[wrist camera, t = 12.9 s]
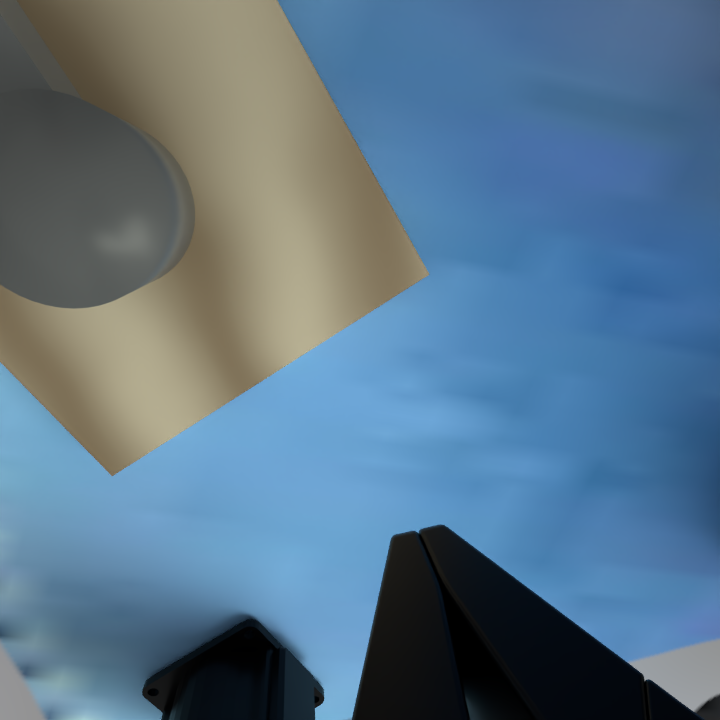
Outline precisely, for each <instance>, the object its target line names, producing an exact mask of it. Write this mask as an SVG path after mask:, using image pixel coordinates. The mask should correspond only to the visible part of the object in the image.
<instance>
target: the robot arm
mask: <svg viewBox="0 0 720 720" xmlns="http://www.w3.org/2000/svg"><path fill="white" fill-rule="evenodd" d="M248 631H252V632H248ZM142 694H143V696H144V697H145V698H146V699H147V700H148V701H150V702H151V703H152V704H153V705H154V706H156V707H157V708H158V709H159V710H160V711H162V712H163V715H162V718H161V720H315V708H316V707H318V706H319V705H321V704H322V703H323V701H324V689H323V688H322V687H321V686H320V684H319V683H318V682H317V681H316V680H315V679H314V677H313V675H312V674H311V673H310V672H309V671H308V670H307V669H306V668H305V667H304V666H303V665H302V664H301V663H300V662H299V661H298V660H297V659H296V658H295V657H294V656H293V655H292V654H291V653H290V652H289V651H288V650H287V649H286V648H284V647H283V646H282V645H281V644H280V643H279V642H278V641H277V640H276V639H275V638H274V637H273V636H272V635H271V634H270V633H269V632H268V631H267V630H266V629H265V628H264V627H263V626H262V625H261V624H260V623H259V622H258V621H256V620H253V619H250V620H246V621H243V622H242V623H240V624H238V625H237V626H235V627H233V628H232V629H230V630H228V631H227V632H225V633H223V634H222V635H220V636H218V637H217V638H215V639H213V640H212V641H210V642H208V643H207V644H205V645H203V646H202V647H200V648H198V649H197V650H195V651H193V652H192V653H190V654H188V655H187V656H185V657H183V658H182V659H180V660H178V661H177V662H175V663H174V664H172V665H170V666H169V667H167V668H165V669H164V670H162V671H160V672H159V673H157V674H155V675H154V676H152V677H150V678H149V679H147V680H146V682H145V685H144V688H143V691H142ZM352 720H704V719H703V718H701V717H700V716H699V715H697V714H696V713H695V712H693V711H692V710H690V709H689V708H688V707H686V706H685V705H683V704H682V703H681V702H679V701H678V700H677V699H675V698H674V697H673V696H671V695H670V694H669V693H667V692H666V691H665V690H663V689H662V688H661V687H659V686H658V685H657V684H655V683H654V682H653V681H651V680H646V681H644V676H643V674H642V673H640V672H639V671H638V670H636V669H635V668H634V667H632V666H631V665H630V664H629V663H627V662H626V661H625V660H623V659H622V658H621V657H619V656H618V655H617V654H615V653H614V652H613V651H611V650H610V649H609V648H607V647H606V646H605V645H603V644H602V643H601V642H599V641H598V640H597V639H595V638H594V637H593V636H591V635H590V634H589V633H587V632H586V631H585V630H583V629H582V628H581V627H579V626H578V625H577V624H575V623H574V622H573V621H571V620H570V619H569V618H567V617H566V616H565V615H563V614H562V613H561V612H559V611H558V610H557V609H555V608H554V607H553V606H551V605H550V604H549V603H547V602H546V601H545V600H543V599H542V598H541V597H539V596H538V595H537V594H535V593H534V592H533V591H531V590H530V589H529V588H527V587H526V586H525V585H523V584H522V583H521V582H519V581H518V580H517V579H516V578H514V577H513V576H512V575H510V574H509V573H508V572H506V571H505V570H504V569H502V568H501V567H500V566H498V565H497V564H496V563H494V562H493V561H492V560H490V559H489V558H488V557H486V556H485V555H484V554H482V553H481V552H480V551H478V550H477V549H476V548H474V547H473V546H472V545H470V544H469V543H468V542H466V541H465V540H464V539H462V538H461V537H460V536H458V535H457V534H456V533H454V532H453V531H452V530H450V529H449V528H448V527H446V526H445V525H436V526H431V527H427V528H423V529H421V530H420V531H419V533H417V532H416V531H409V532H405V533H401V534H396V535H394V536H393V537H392V538H391V541H390V546H389V550H388V555H387V560H386V564H385V569H384V574H383V578H382V583H381V587H380V592H379V597H378V601H377V606H376V610H375V615H374V620H373V624H372V629H371V634H370V638H369V643H368V647H367V652H366V657H365V661H364V666H363V670H362V675H361V680H360V684H359V689H358V694H357V698H356V703H355V707H354V712H353V717H352Z"/></svg>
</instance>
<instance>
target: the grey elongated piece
mask: <svg viewBox="0 0 720 720" xmlns="http://www.w3.org/2000/svg"><path fill="white" fill-rule="evenodd" d="M194 225H195V206H194V199H193V195H192V191H191V187H190V185H189V182H188V180H187V177H186V175H185V174H184V172H183V170H182V168H181V166H180V165H179V163H178V162H177V161H176V159H175V158H174V156H173V155H172V154H171V153H170V152H169V151H168V150H167V149H166V147H165V146H163V145H162V144H161V143H160V142H159V141H158V140H157V139H155V138H154V137H152V136H151V135H150V134H148V133H147V132H145V131H143V130H141V129H140V128H138V127H136V126H134V125H132V124H130V123H128V122H126V121H124V120H122V119H120V118H118V117H116V116H114V115H112V114H110V113H108V112H107V111H105V110H103V109H101V108H99V107H97V106H95V105H93V104H91V103H89V102H87V101H85V100H82V98H81V97H80V95H79V94H78V92H77V91H76V89H75V88H74V86H73V85H72V83H71V82H70V80H69V79H68V77H67V76H66V74H65V73H64V71H63V70H62V68H61V67H60V65H59V64H58V62H57V61H56V59H55V58H54V56H53V55H52V53H51V52H50V50H49V49H48V47H47V45H46V44H45V42H44V41H43V39H42V38H41V36H40V35H39V33H38V32H37V30H36V29H35V27H34V26H33V24H32V23H31V21H30V20H29V18H28V17H27V15H26V14H25V12H24V11H23V9H22V8H21V6H20V5H19V3H18V2H17V0H0V285H2V286H3V287H5V288H6V289H8V290H10V291H12V292H14V293H15V294H17V295H19V296H21V297H24V298H26V299H29V300H31V301H34V302H37V303H40V304H44V305H48V306H53V307H59V308H72V309H76V308H89V307H95V306H100V305H103V304H106V303H109V302H112V301H115V300H117V299H119V298H121V297H123V296H125V295H127V294H129V293H131V292H133V291H135V290H137V289H139V288H141V287H143V286H145V285H147V284H149V283H151V282H153V281H155V280H157V279H159V278H161V277H162V276H164V275H165V274H167V273H168V272H169V271H170V270H172V269H173V268H174V267H175V266H176V265H177V264H178V262H179V261H180V260H181V259H182V257H183V256H184V254H185V252H186V251H187V249H188V247H189V244H190V242H191V239H192V235H193V232H194Z"/></svg>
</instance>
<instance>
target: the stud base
mask: <svg viewBox="0 0 720 720" xmlns="http://www.w3.org/2000/svg"><path fill="white" fill-rule="evenodd" d="M17 2H18V3H19V5H20V6H21V8H22V9H23V11H24V12H25V14H26V15H27V17H28V18H29V20H30V21H31V23H32V24H33V26H34V27H35V29H36V30H37V32H38V33H39V35H40V36H41V38H42V39H43V41H44V42H45V44H46V45H47V47H48V49H49V50H50V52H51V53H52V55H53V56H54V58H55V59H56V61H57V62H58V64H59V65H60V67H61V68H62V70H63V71H64V73H65V74H66V76H67V77H68V79H69V80H70V82H71V83H72V85H73V86H74V88H75V89H76V91H77V92H78V94H79V95H80V97H81V98H82V100H85V101H87V102H89V103H91V104H93V105H95V106H97V107H99V108H101V109H103V110H105V111H107V112H108V113H110V114H112V115H114V116H116V117H118V118H120V119H122V120H124V121H126V122H128V123H130V124H132V125H134V126H136V127H138V128H140V129H141V130H143V131H145V132H147V133H148V134H150V135H151V136H152V137H154V138H155V139H157V140H158V141H159V142H160V143H161V144H162V145H163V146H165V147H166V149H167V150H168V151H169V152H170V153H171V154H172V155H173V156H174V158H175V159H176V161H177V162H178V163H179V165H180V166H181V168H182V170H183V172H184V174H185V175H186V177H187V180H188V182H189V185H190V187H191V191H192V195H193V199H194V206H195V225H194V232H193V235H192V239H191V242H190V244H189V247H188V249H187V251H186V252H185V254H184V256H183V257H182V259H181V260H180V261H179V262H178V264H177V265H176V266H175V267H174V268H173V269H172V270H170V271H169V272H168V273H167V274H165V275H164V276H162V277H161V278H159V279H157V280H155V281H153V282H151V283H149V284H147V285H145V286H143V287H141V288H139V289H137V290H135V291H133V292H131V293H129V294H127V295H125V296H123V297H121V298H119V299H117V300H115V301H112V302H109V303H106V304H103V305H100V306H95V307H89V308H76V309H72V308H59V307H53V306H48V305H44V304H40V303H37V302H34V301H31V300H29V299H26V298H24V297H21V296H19V295H17V294H15V293H14V292H12V291H10V290H8V289H6V288H5V287H3V286H2V285H0V362H1V363H2V364H3V365H4V366H5V367H6V368H7V369H8V370H9V371H10V372H11V373H12V374H13V375H14V376H15V377H16V378H17V379H18V380H19V381H20V382H21V383H22V384H23V386H24V387H25V388H26V389H27V390H28V391H29V392H30V393H31V394H32V395H33V396H34V397H35V398H36V399H37V400H38V401H39V402H40V403H41V404H42V405H43V406H44V407H45V408H46V409H47V410H48V411H49V412H50V413H51V414H52V415H53V416H54V417H55V418H56V419H57V420H58V421H59V422H60V423H61V424H62V425H63V426H64V427H65V428H66V429H67V431H68V432H69V433H70V434H71V435H72V436H73V437H74V438H75V439H76V440H77V441H78V442H79V443H80V444H81V445H82V446H83V447H84V448H85V449H86V450H87V451H88V452H89V453H90V454H91V455H92V456H93V457H94V458H95V459H96V460H97V461H98V462H99V463H100V464H101V465H102V466H103V467H104V468H105V469H106V470H107V471H108V472H109V473H110V474H111V476H113V475H115V474H116V473H118V472H119V471H121V470H123V469H124V468H126V467H127V466H129V465H130V464H132V463H134V462H135V461H137V460H138V459H140V458H141V457H143V456H145V455H146V454H148V453H149V452H151V451H152V450H154V449H156V448H157V447H159V446H160V445H162V444H163V443H165V442H167V441H168V440H170V439H171V438H173V437H174V436H176V435H178V434H179V433H181V432H182V431H184V430H185V429H187V428H189V427H190V426H192V425H193V424H195V423H196V422H198V421H200V420H201V419H203V418H204V417H206V416H208V415H209V414H211V413H212V412H214V411H215V410H217V409H219V408H220V407H222V406H223V405H225V404H226V403H228V402H230V401H231V400H233V399H234V398H236V397H237V396H239V395H241V394H242V393H244V392H245V391H247V390H248V389H250V388H252V387H253V386H255V385H256V384H258V383H259V382H261V381H263V380H264V379H266V378H267V377H269V376H270V375H272V374H274V373H275V372H277V371H278V370H280V369H281V368H283V367H285V366H286V365H288V364H289V363H291V362H292V361H294V360H296V359H297V358H299V357H300V356H302V355H303V354H305V353H307V352H308V351H310V350H311V349H313V348H314V347H316V346H318V345H319V344H321V343H322V342H324V341H325V340H327V339H329V338H330V337H332V336H333V335H335V334H336V333H338V332H340V331H341V330H343V329H344V328H346V327H347V326H349V325H351V324H352V323H354V322H355V321H357V320H358V319H360V318H362V317H363V316H365V315H366V314H368V313H369V312H371V311H373V310H374V309H376V308H377V307H379V306H380V305H382V304H384V303H385V302H387V301H388V300H390V299H391V298H393V297H395V296H396V295H398V294H399V293H401V292H402V291H404V290H406V289H407V288H409V287H410V286H412V285H413V284H415V283H417V282H418V281H420V280H421V279H423V278H424V277H426V276H428V275H429V273H428V271H427V269H426V267H425V266H424V264H423V262H422V260H421V258H420V257H419V255H418V253H417V251H416V249H415V248H414V246H413V244H412V242H411V240H410V239H409V237H408V235H407V233H406V231H405V230H404V228H403V226H402V224H401V222H400V221H399V219H398V217H397V215H396V213H395V212H394V210H393V208H392V206H391V204H390V203H389V201H388V199H387V197H386V195H385V194H384V192H383V190H382V188H381V186H380V185H379V183H378V181H377V179H376V177H375V176H374V174H373V172H372V170H371V168H370V167H369V165H368V163H367V161H366V159H365V158H364V156H363V154H362V152H361V150H360V149H359V147H358V145H357V143H356V141H355V140H354V138H353V136H352V134H351V132H350V131H349V129H348V127H347V125H346V123H345V122H344V120H343V118H342V116H341V114H340V113H339V111H338V109H337V107H336V105H335V104H334V102H333V100H332V98H331V96H330V95H329V93H328V91H327V89H326V87H325V86H324V84H323V82H322V80H321V78H320V77H319V75H318V73H317V71H316V69H315V68H314V66H313V64H312V62H311V60H310V59H309V57H308V55H307V53H306V51H305V50H304V48H303V46H302V44H301V42H300V41H299V39H298V37H297V35H296V33H295V32H294V30H293V28H292V26H291V24H290V23H289V21H288V19H287V17H286V15H285V14H284V12H283V10H282V8H281V6H280V5H279V3H278V1H277V0H17Z"/></svg>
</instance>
